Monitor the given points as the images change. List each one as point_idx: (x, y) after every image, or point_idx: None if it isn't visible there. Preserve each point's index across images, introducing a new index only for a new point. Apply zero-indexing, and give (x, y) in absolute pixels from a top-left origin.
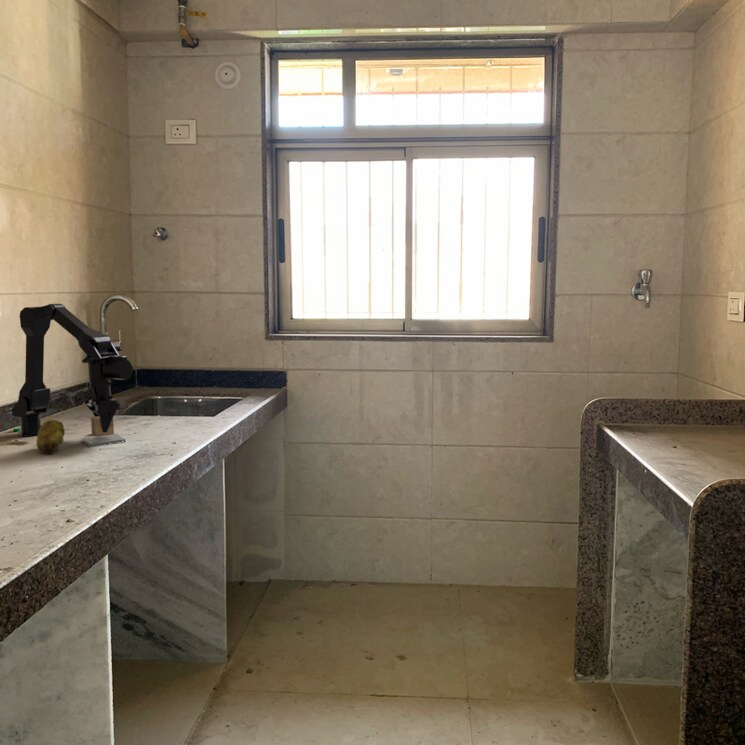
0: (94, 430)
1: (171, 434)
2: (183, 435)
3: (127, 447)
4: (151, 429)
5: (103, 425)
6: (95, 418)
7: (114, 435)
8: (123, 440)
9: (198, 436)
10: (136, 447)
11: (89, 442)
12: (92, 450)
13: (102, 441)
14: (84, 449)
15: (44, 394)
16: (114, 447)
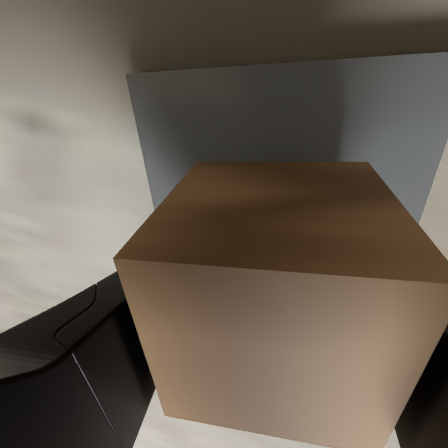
0: (244, 180)
1: None
2: (185, 430)
3: (45, 250)
4: (396, 439)
5: None
6: (233, 294)
7: None
8: None
9: (146, 437)
10: (35, 276)
11: (190, 85)
12: (9, 62)
13: (175, 182)
14: (57, 5)
15: None
16: (63, 204)
